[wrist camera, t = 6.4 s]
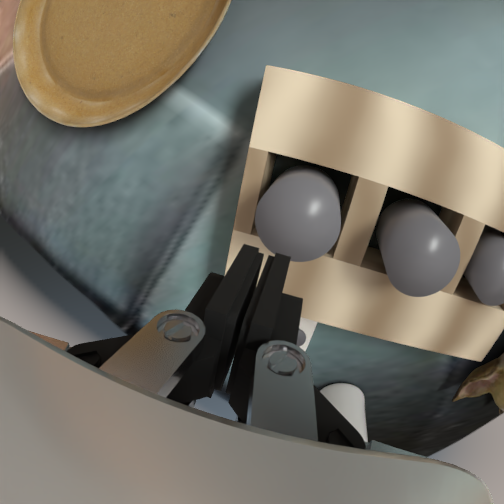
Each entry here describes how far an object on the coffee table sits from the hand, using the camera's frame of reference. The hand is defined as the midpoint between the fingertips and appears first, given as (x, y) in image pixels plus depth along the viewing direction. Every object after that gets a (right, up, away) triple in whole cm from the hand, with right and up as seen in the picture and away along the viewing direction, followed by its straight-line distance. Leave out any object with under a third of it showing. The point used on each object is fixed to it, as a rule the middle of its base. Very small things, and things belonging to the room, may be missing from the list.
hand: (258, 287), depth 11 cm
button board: (+11, +4, +11) cm, 16 cm away
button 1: (+3, +5, +10) cm, 11 cm away
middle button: (+10, +3, +9) cm, 14 cm away
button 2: (+18, +1, +10) cm, 21 cm away
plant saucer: (-12, +23, +8) cm, 28 cm away
